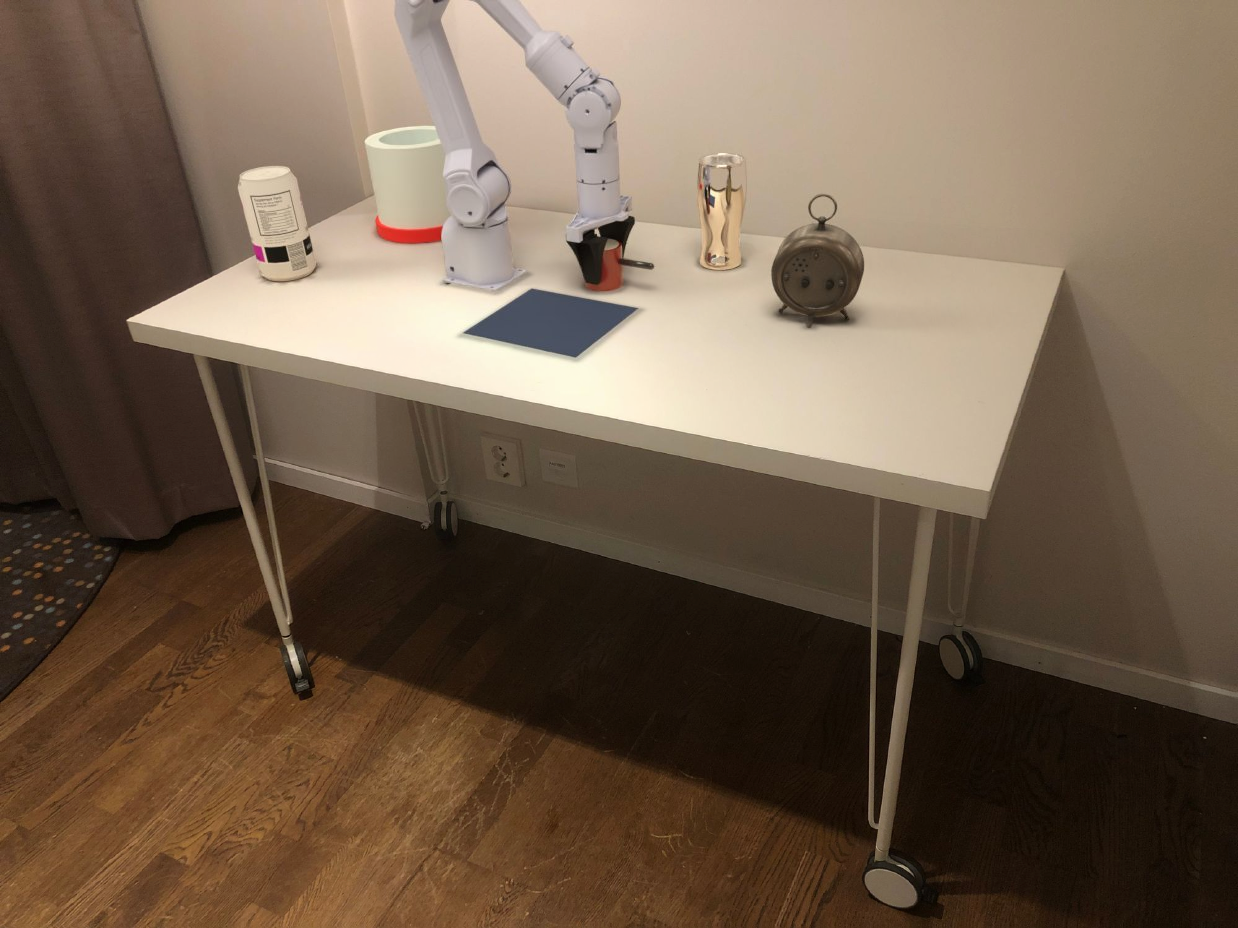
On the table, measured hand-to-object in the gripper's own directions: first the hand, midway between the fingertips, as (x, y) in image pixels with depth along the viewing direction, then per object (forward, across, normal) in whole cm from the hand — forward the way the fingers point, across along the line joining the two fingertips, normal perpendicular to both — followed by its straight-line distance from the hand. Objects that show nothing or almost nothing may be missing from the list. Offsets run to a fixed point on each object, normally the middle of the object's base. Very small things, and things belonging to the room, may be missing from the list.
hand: (603, 275), depth 131 cm
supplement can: (+2, -14, +46) cm, 49 cm away
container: (+2, +10, +40) cm, 42 cm away
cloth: (+2, -14, 0) cm, 14 cm away
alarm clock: (+2, 0, -30) cm, 31 cm away
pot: (+2, 0, -3) cm, 3 cm away
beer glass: (+2, +14, -12) cm, 19 cm away
